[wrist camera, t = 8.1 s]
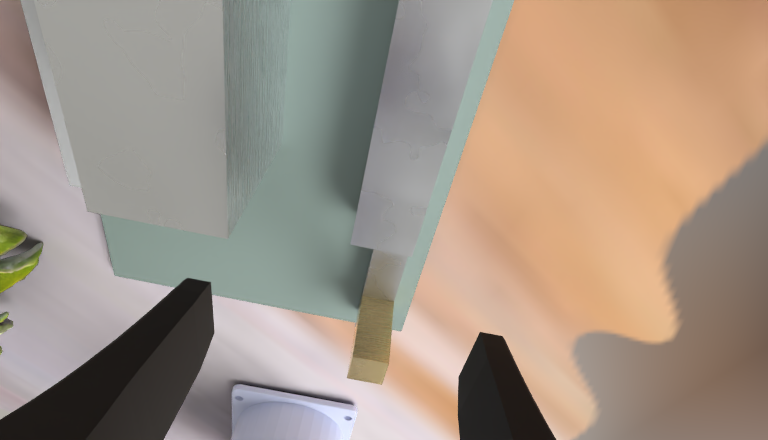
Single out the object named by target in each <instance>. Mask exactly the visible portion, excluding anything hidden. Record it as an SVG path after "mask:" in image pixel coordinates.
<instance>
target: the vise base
mask: <svg viewBox="0 0 768 440" xmlns="http://www.w3.org/2000/svg"><path fill="white" fill-rule="evenodd" d="M20 1H21V5H22V8H23V12H24V16H25V20H26V23H27V27H28V31H29V35H30V38H31V42H32V46H33V50H34V54H35V57H36V61H37V65H38V69H39V72H40V76H41V80H42V84H43V87H44V91H45V95H46V99H47V102H48V106H49V110H50V114H51V117H52V121H53V125H54V129H55V133H56V136H57V140H58V144H59V148H60V151H61V155H62V159H63V163H64V166H65V170H66V174H67V178H68V181H69V185H70V186H74V187H79V188H81V184H80V180H79V176H78V172H77V168H76V164H75V160H74V156H73V152H72V148H71V144H70V141H69V137H68V133H67V129H66V125H65V121H64V117H63V113H62V109H61V105H60V101H59V97H58V93H57V90H56V86H55V82H54V78H53V74H52V70H51V66H50V62H49V58H48V54H47V50H46V46H45V42H44V39H43V35H42V31H41V27H40V23H39V19H38V15H37V11H36V7H35V3H34V0H20ZM513 2H514V0H493V2H492V5H491V8H490V11H489V14H488V18H487V21H486V24H485V27H484V30H483V33H482V37H481V40H480V43H479V46H478V49H477V52H476V56H475V59H474V62H473V65H472V68H471V71H470V75H469V78H468V81H467V84H466V87H465V90H464V94H463V97H462V100H461V103H460V106H459V110H458V113H457V116H456V119H455V122H454V125H453V129H452V132H451V135H450V138H449V141H448V144H447V148H446V151H445V154H444V157H443V160H442V163H441V167H440V170H439V173H438V176H437V179H436V182H435V186H434V189H433V192H432V195H431V198H430V202H429V205H428V208H427V211H426V214H425V217H424V221H423V224H422V227H421V230H420V233H419V236H418V240H417V243H416V246H415V249H414V252H413V255H412V257H409V256H408V258H407V262H406V265H405V268H404V271H403V274H402V278H401V281H400V284H399V287H398V291H397V294H396V297H395V300H394V309H393V321H392V330H396V331H402V328H403V325H404V322H405V319H406V316H407V313H408V310H409V307H410V304H411V301H412V298H413V295H414V292H415V289H416V287H417V284H418V281H419V278H420V275H421V272H422V269H423V266H424V263H425V260H426V257H427V254H428V251H429V248H430V246H431V243H432V240H433V237H434V234H435V231H436V228H437V225H438V222H439V219H440V216H441V213H442V210H443V207H444V205H445V202H446V199H447V196H448V193H449V190H450V187H451V184H452V181H453V178H454V175H455V172H456V169H457V166H458V164H459V161H460V158H461V155H462V152H463V149H464V146H465V143H466V140H467V137H468V134H469V131H470V128H471V125H472V123H473V120H474V117H475V114H476V111H477V108H478V105H479V102H480V99H481V96H482V93H483V90H484V87H485V84H486V81H487V79H488V76H489V73H490V70H491V67H492V64H493V61H494V58H495V55H496V52H497V49H498V46H499V43H500V40H501V38H502V35H503V32H504V29H505V26H506V23H507V20H508V17H509V14H510V11H511V8H512V5H513ZM398 3H399V0H291V5H290V21H289V38H288V54H287V71H286V87H285V104H284V120H283V136H282V145H281V146H280V148H279V150H278V152H277V153H276V155H275V157H274V159H273V161H272V162H271V164H270V166H269V168H268V169H267V171H266V173H265V175H264V176H263V178H262V180H261V182H260V183H259V185H258V187H257V189H256V190H255V192H254V194H253V196H252V198H251V199H250V201H249V203H248V205H247V206H246V208H245V210H244V212H243V213H242V215H241V217H240V219H239V220H238V222H237V224H236V226H235V228H234V229H233V231H232V233H231V235H230V236H229V238H228V239H225V238H220V237H214V236H209V235H204V234H199V233H194V232H189V231H184V230H179V229H174V228H169V227H164V226H159V225H153V224H148V223H143V222H138V221H133V220H128V219H123V218H118V217H113V216H108V215H103V214H101V218H102V222H103V227H104V231H105V236H106V240H107V245H108V249H109V253H110V258H111V262H112V267H113V271H114V275H115V276H119V277H124V278H129V279H134V280H139V281H145V282H150V283H155V284H160V285H165V286H170V287H175V288H176V287H177V286H178V285H179V284H180V283H181V282H182V281H183V280H185V279H186V278H192V279H197V280H202V281H208V282H211V290H212V295H216V296H222V297H227V298H232V299H237V300H242V301H247V302H252V303H258V304H263V305H268V306H273V307H278V308H283V309H288V310H293V311H299V312H304V313H309V314H314V315H319V316H324V317H329V318H335V319H340V320H345V321H350V322H355V323H356V317H357V311H358V307H359V303H360V299H361V295H362V290H363V286H364V282H365V278H366V274H367V270H368V266H369V261H370V257H371V253H372V249H370V248H365V247H360V246H355V245H350V244H351V239H352V234H353V229H354V224H355V219H356V214H357V209H358V204H359V199H360V194H361V189H362V184H363V179H364V174H365V169H366V164H367V159H368V154H369V149H370V144H371V139H372V134H373V129H374V124H375V119H376V113H377V108H378V103H379V98H380V93H381V88H382V83H383V78H384V73H385V68H386V63H387V58H388V53H389V48H390V43H391V38H392V33H393V28H394V23H395V18H396V13H397V8H398Z"/></svg>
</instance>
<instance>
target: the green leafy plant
mask: <svg viewBox="0 0 768 440" xmlns="http://www.w3.org/2000/svg"><path fill="white" fill-rule="evenodd" d="M26 237H27V235H26V234H25V233H24V232H23V231H22V230H19V229H14V228H11V227H7V226H2V225H0V256H1V255H4V254H6V253H7V252H9V251H10V250H12V249H14V248H15V247H17V246H19V245H20V244H21V243H22V242H23V241H24V240H25V239H26ZM42 248H43V243H42V242H41V243H38V244H36V245H35V246H34V247H33V248H32V249H30V250H28V251H26V252H23V253H21V254H19V255H15V256H11V257H8V258H5V259H1V260H0V293H2V292H3V291H5V290H6V289H8V288H10V287H12V286H13V285H14V284H15V283H17V282H18V281H21V280H24V279H25V277H26V276H27V275H28V274H29V273H30V272H31V271H32V270H33V269H34V268H35V266H37V265H38V261H39V256H40V254H41V252H42ZM8 315H9V313H8V312H4V313H2V314H0V334H2V333H4V332H6V331H7V330H9V329H11V328H13V321H11V320H9V319H8V318H7V317H8ZM1 353H2V348H1V346H0V355H1Z"/></svg>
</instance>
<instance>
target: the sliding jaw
mask: <svg viewBox="0 0 768 440" xmlns="http://www.w3.org/2000/svg"><path fill="white" fill-rule="evenodd" d="M492 2H493V0H399V3H398V8H397V13H396V18H395V23H394V28H393V33H392V38H391V43H390V48H389V53H388V58H387V63H386V68H385V73H384V78H383V83H382V88H381V93H380V98H379V103H378V108H377V113H376V119H375V124H374V129H373V134H372V139H371V144H370V149H369V154H368V159H367V164H366V169H365V174H364V179H363V184H362V189H361V194H360V199H359V204H358V209H357V214H356V219H355V224H354V229H353V234H352V239H351V244H350V245H355V246H360V247H365V248H370V249H372V253H371V257H370V261H369V266H368V270H367V274H366V278H365V282H364V286H363V290H362V295H361V299H360V303H359V307H358V311H357V317H356V323H355V327H356V328H355V334H354V340H353V346H352V352H351V358H350V364H349V370H348V376H347V378H349V379H354V380H360V381H365V382H370V383H376V384H381V385H382V382H383V380H384V377H385V374H386V371H387V368H388V365H389V356H390V344H391V332H392V321H393V309H394V300H395V297H396V294H397V291H398V287H399V284H400V281H401V278H402V274H403V271H404V268H405V265H406V262H407V258H408V256H409V257H412V255H413V252H414V249H415V246H416V243H417V240H418V236H419V233H420V230H421V227H422V224H423V221H424V217H425V214H426V211H427V208H428V205H429V202H430V198H431V195H432V192H433V189H434V186H435V182H436V179H437V176H438V173H439V170H440V167H441V163H442V160H443V157H444V154H445V151H446V148H447V144H448V141H449V138H450V135H451V132H452V129H453V125H454V122H455V119H456V116H457V113H458V110H459V106H460V103H461V100H462V97H463V94H464V90H465V87H466V84H467V81H468V78H469V75H470V71H471V68H472V65H473V62H474V59H475V56H476V52H477V49H478V46H479V43H480V40H481V37H482V33H483V30H484V27H485V24H486V21H487V18H488V14H489V11H490V8H491V5H492Z"/></svg>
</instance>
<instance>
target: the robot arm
mask: <svg viewBox="0 0 768 440" xmlns="http://www.w3.org/2000/svg"><path fill="white" fill-rule="evenodd" d="M213 335H214V321H213V305H212V290H211V282H208V281H202V280H197V279H192V278H186V279H185V280H183V281H182V282H181V283H180V284H179V285H178V286H177V287H176V288H175V289H173V290H172V291H171V292H170V293H169V294H168V295H167V296H166V297H165V298H164V299H162V300H161V301H160V302H159V303H158V304H157V305H156V306H155V307H153V308H152V309H151V310H150V311H149V312H148V313H147V314H145V315H144V316H143V317H142V318H141V319H140V320H138V321H137V322H136V323H135V324H134V325H132V326H131V327H130V328H129V329H128V330H126V331H125V332H124V333H123V334H122V335H120V336H119V337H118V338H117V339H116V340H114V341H113V342H112V343H111V344H109V345H108V346H107V347H105V348H104V349H103V350H101V351H100V352H99V353H98V354H96V355H95V356H94V357H92V358H91V359H90V360H88V361H87V362H86V363H84V364H83V365H82V366H80V367H79V368H78V369H76V370H75V371H74V372H72V373H71V374H69V375H68V376H67V377H65V378H64V379H62V380H61V381H59V382H58V383H57V384H55V385H54V386H52V387H51V388H49V389H48V390H46V391H45V392H43V393H42V394H40V395H39V396H37V397H36V398H34V399H33V400H31V401H30V402H28V403H26V404H25V405H23V406H22V407H20V408H18V409H17V410H15V411H13V412H12V413H10V414H9V415H7V416H5V417H4V418H2V419H1V420H0V440H164V438H165V436H166V434H167V432H168V430H169V428H170V426H171V424H172V423H173V421H174V419H175V417H176V415H177V413H178V411H179V409H180V407H181V405H182V404H183V402H184V400H185V398H186V396H187V394H188V392H189V390H190V388H191V386H192V384H193V382H194V380H195V379H196V377H197V375H198V373H199V371H200V369H201V366H202V364H203V361H204V358H205V356H206V353H207V351H208V348H209V345H210V343H211V340H212V337H213ZM356 416H357V408H356V407H355V406H354V405H350V404H345V403H339V402H334V401H328V400H323V399H318V398H312V397H307V396H301V395H296V394H291V393H285V392H280V391H274V390H269V389H264V388H258V387H253V386H247V385H242V384H237V385H235V386H234V387H233V389H232V437H231V440H349V439H350V436H351V433H352V429H353V426H354V423H355V419H356ZM458 421H459V433H460V440H556V438H555V437H554V435H553V433H552V432H551V430H550V428H549V426H548V425H547V423H546V421H545V419H544V417H543V415H542V414H541V412H540V410H539V408H538V406H537V404H536V402H535V401H534V399H533V397H532V395H531V393H530V391H529V389H528V387H527V385H526V383H525V381H524V379H523V377H522V375H521V373H520V371H519V369H518V367H517V365H516V363H515V361H514V359H513V356H512V354H511V352H510V350H509V348H508V346H507V344H506V341H505V339H504V338H503V336H498V335H493V334H488V333H482V332H480V333H479V336H478V338H477V340H476V342H475V344H474V346H473V348H472V350H471V352H470V354H469V357H468V359H467V361H466V363H465V365H464V367H463V369H462V371H461V373H460V375H459V385H458Z"/></svg>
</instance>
